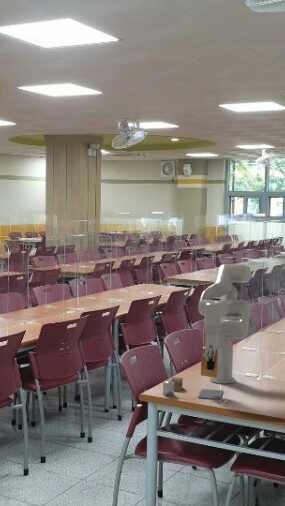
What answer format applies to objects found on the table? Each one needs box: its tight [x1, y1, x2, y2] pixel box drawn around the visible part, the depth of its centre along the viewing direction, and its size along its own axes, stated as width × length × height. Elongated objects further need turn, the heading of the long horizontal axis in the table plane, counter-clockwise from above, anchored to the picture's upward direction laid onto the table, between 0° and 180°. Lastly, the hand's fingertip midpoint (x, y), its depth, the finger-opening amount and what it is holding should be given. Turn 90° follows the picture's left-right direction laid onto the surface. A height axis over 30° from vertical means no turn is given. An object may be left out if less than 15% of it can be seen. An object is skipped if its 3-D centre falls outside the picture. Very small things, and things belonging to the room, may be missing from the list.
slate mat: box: [197, 388, 224, 401], centre depth 299 cm, size 14×10×1 cm
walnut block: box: [170, 376, 184, 391], centre depth 308 cm, size 5×5×5 cm
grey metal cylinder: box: [162, 379, 175, 397], centre depth 298 cm, size 5×5×6 cm
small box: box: [200, 346, 223, 378], centre depth 298 cm, size 8×6×13 cm
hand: (211, 367), depth 298 cm, fingers closed on small box, 7 cm apart
